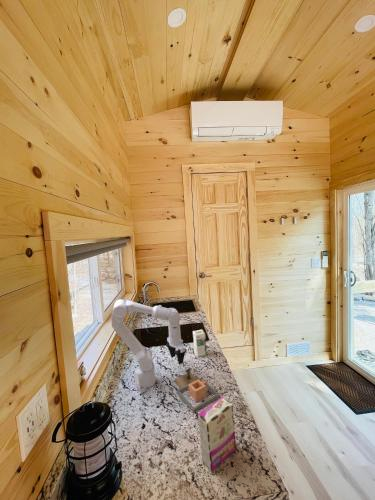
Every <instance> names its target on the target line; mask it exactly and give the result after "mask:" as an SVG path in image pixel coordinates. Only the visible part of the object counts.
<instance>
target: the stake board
mask: <svg viewBox="0 0 375 500" xmlns="http://www.w3.org/2000/svg"><path fill="white" fill-rule="evenodd" d="M191 370H192V368H191V367H189V368H187V369H185V370H184V371H185V373H186V374H184V375H181V376H179V377H178V378H175V379H173V380H172V381H173V382H174V384H175V385H176V386H177V387H178V389H180V388H182V387H184V386H186V385H188V384H190V383H192V382H194V381H196V380H198V379H199V378H197V377H196V376H195V375H194V374H193V373H191Z"/></svg>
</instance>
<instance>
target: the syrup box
mask: <svg viewBox="0 0 375 500" xmlns="http://www.w3.org/2000/svg"><path fill="white" fill-rule="evenodd" d="M192 338H193V350H194V355H195V356H196V357H197V358H203V357H206V356H208V354H207V353H208V352H207V343H206V339H207V338H206V332H205V331H204V330H203V329H199V330H193V331H192Z"/></svg>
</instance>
